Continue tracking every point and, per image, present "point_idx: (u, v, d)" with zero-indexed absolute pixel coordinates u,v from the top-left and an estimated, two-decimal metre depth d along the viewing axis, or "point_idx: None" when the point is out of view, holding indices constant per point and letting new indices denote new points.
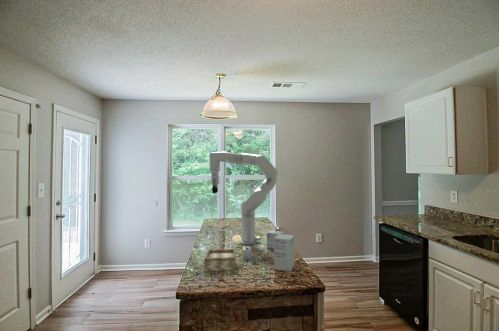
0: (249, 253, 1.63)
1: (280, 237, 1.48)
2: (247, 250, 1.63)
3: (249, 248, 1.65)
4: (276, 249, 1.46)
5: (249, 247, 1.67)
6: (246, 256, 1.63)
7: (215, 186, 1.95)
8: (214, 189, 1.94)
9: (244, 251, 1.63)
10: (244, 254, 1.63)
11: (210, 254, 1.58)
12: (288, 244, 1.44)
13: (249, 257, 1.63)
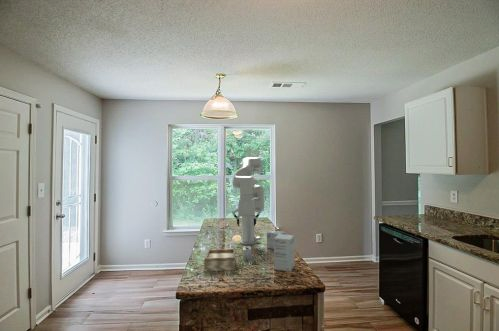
0: (249, 253, 1.63)
1: (280, 237, 1.48)
2: (247, 250, 1.63)
3: (249, 248, 1.65)
4: (276, 249, 1.46)
5: (249, 247, 1.67)
6: (246, 256, 1.63)
7: None
8: None
9: (244, 251, 1.63)
10: (244, 254, 1.63)
11: (210, 254, 1.58)
12: (288, 244, 1.44)
13: (249, 257, 1.63)
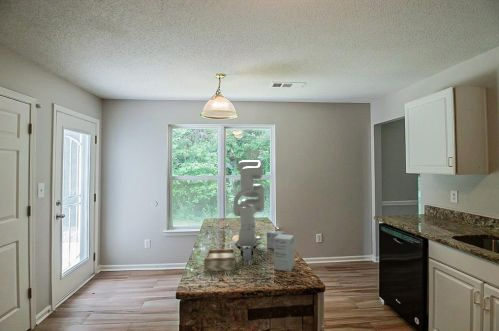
0: (249, 253, 1.63)
1: (280, 237, 1.48)
2: (247, 250, 1.63)
3: (249, 248, 1.65)
4: (276, 249, 1.46)
5: (249, 247, 1.67)
6: (246, 256, 1.63)
7: None
8: None
9: (244, 251, 1.63)
10: (244, 254, 1.63)
11: (210, 254, 1.58)
12: (288, 244, 1.44)
13: (249, 257, 1.63)
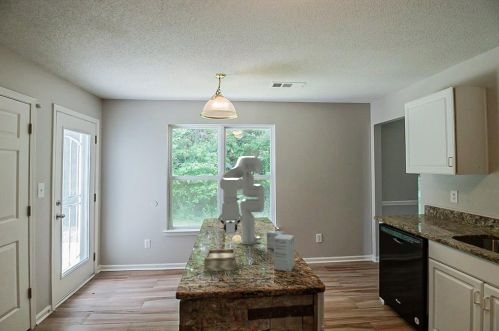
0: (233, 227, 1.55)
1: (280, 237, 1.48)
2: (230, 224, 1.55)
3: (233, 222, 1.57)
4: (276, 249, 1.46)
5: (233, 221, 1.60)
6: (230, 230, 1.55)
7: None
8: None
9: (227, 225, 1.55)
10: (227, 228, 1.55)
11: (210, 254, 1.58)
12: (288, 244, 1.44)
13: (233, 231, 1.55)
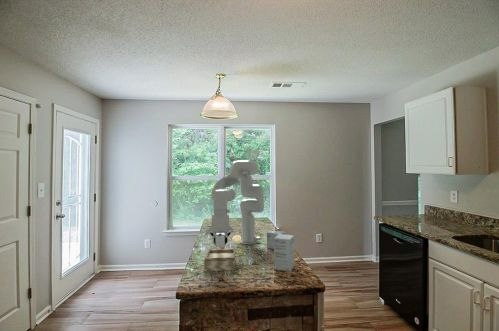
0: (222, 240, 1.51)
1: (280, 237, 1.48)
2: (220, 237, 1.51)
3: (223, 235, 1.53)
4: (276, 249, 1.46)
5: (223, 234, 1.55)
6: (219, 243, 1.51)
7: None
8: (227, 239, 1.54)
9: (217, 238, 1.51)
10: (216, 241, 1.51)
11: (210, 254, 1.58)
12: (288, 244, 1.44)
13: (222, 244, 1.51)
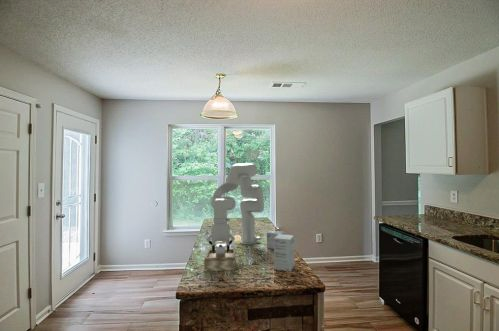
0: (222, 251, 1.51)
1: (280, 237, 1.48)
2: (220, 248, 1.51)
3: (223, 246, 1.53)
4: (276, 249, 1.46)
5: (223, 245, 1.55)
6: (220, 254, 1.51)
7: None
8: None
9: (217, 249, 1.51)
10: (217, 252, 1.51)
11: (210, 254, 1.58)
12: (288, 244, 1.44)
13: (222, 255, 1.51)
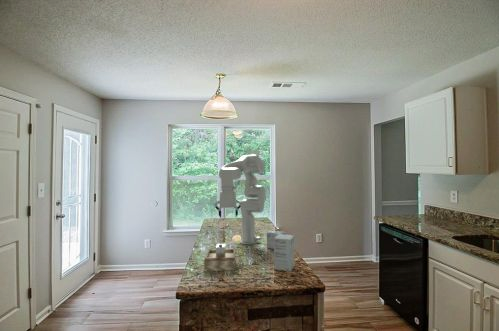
0: (222, 251, 1.51)
1: (280, 237, 1.48)
2: (220, 248, 1.51)
3: (223, 246, 1.53)
4: (276, 249, 1.46)
5: (223, 245, 1.55)
6: (220, 254, 1.51)
7: None
8: (237, 211, 1.69)
9: (217, 249, 1.51)
10: (217, 252, 1.51)
11: (210, 254, 1.58)
12: (288, 244, 1.44)
13: (222, 255, 1.51)
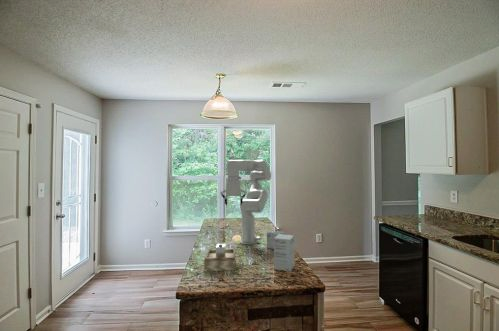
0: (222, 251, 1.51)
1: (280, 237, 1.48)
2: (220, 248, 1.51)
3: (223, 246, 1.53)
4: (276, 249, 1.46)
5: (223, 245, 1.55)
6: (220, 254, 1.51)
7: None
8: (242, 200, 1.81)
9: (217, 249, 1.51)
10: (217, 252, 1.51)
11: (210, 254, 1.58)
12: (288, 244, 1.44)
13: (222, 255, 1.51)
